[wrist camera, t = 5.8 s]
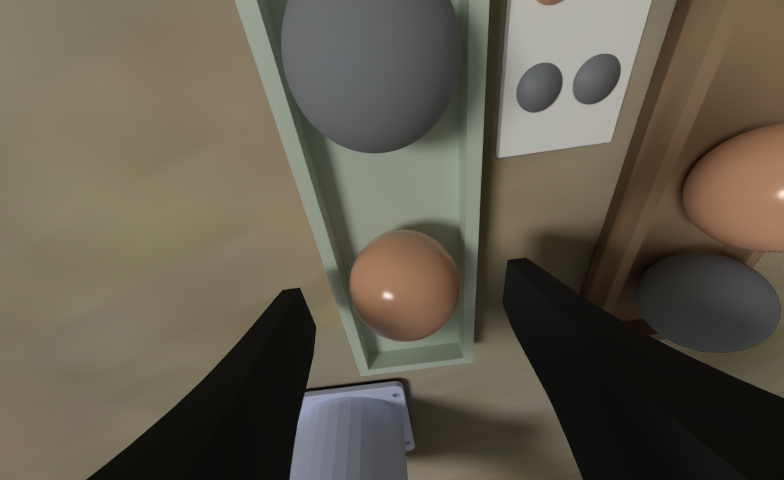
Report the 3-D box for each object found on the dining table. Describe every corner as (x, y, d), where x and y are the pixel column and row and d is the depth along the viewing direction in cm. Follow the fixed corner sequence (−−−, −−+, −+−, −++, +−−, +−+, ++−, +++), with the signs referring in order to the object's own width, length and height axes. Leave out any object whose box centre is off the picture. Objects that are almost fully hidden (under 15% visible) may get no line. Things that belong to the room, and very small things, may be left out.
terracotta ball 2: (736, 208, 12) (879, 269, 8) (638, 221, 12) (740, 287, 9) (800, 102, 10) (1028, 128, 6) (678, 119, 10) (839, 155, 6)
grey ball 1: (443, 123, 9) (481, 163, 6) (323, 141, 9) (295, 189, 6) (439, -44, 7) (494, -128, 4) (283, -18, 7) (204, -79, 4)
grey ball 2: (683, 295, 15) (775, 367, 11) (604, 305, 15) (672, 379, 11) (723, 228, 12) (853, 293, 9) (630, 241, 12) (723, 310, 9)
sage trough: (553, 327, 16) (567, 350, 15) (361, 351, 17) (360, 376, 15) (700, -206, 6) (781, -270, 5) (217, -121, 7) (180, -162, 5)
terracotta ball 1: (447, 281, 13) (473, 358, 10) (362, 292, 13) (358, 372, 10) (445, 203, 11) (477, 269, 8) (343, 218, 11) (330, 288, 8)
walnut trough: (678, 312, 16) (704, 334, 15) (570, 325, 16) (587, 348, 15) (1034, -264, 6) (1205, -347, 5) (747, -214, 6) (839, -280, 5)
